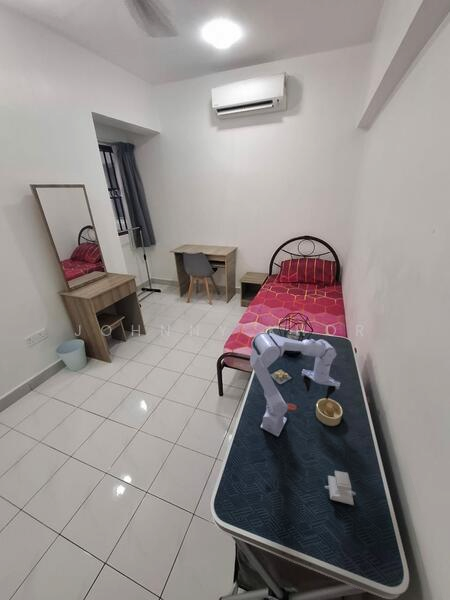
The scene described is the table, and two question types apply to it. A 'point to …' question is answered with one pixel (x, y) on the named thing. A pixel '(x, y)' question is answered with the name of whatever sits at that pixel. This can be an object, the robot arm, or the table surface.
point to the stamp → (340, 488)
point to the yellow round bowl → (325, 419)
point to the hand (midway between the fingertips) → (317, 393)
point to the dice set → (280, 376)
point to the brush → (328, 410)
